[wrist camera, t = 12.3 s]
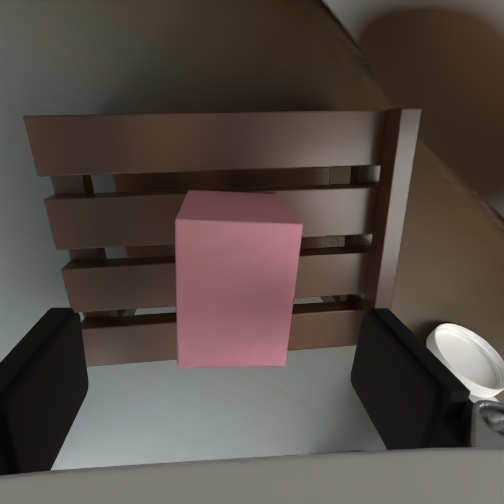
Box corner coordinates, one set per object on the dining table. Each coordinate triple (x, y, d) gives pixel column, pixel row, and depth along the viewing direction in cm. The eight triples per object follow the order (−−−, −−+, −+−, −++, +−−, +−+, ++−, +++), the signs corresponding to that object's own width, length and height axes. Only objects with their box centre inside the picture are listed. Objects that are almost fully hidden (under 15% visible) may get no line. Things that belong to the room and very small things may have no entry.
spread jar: (364, 419, 36) (427, 543, 26) (357, 335, 32) (428, 443, 21) (469, 395, 37) (575, 508, 26) (476, 309, 32) (605, 402, 22)
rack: (124, 295, 28) (76, 384, 19) (92, 118, 23) (2, 114, 13) (329, 282, 30) (383, 358, 20) (342, 114, 25) (422, 107, 15)
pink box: (188, 301, 19) (177, 368, 14) (187, 189, 17) (174, 219, 11) (267, 301, 19) (285, 366, 14) (277, 193, 17) (303, 223, 12)
